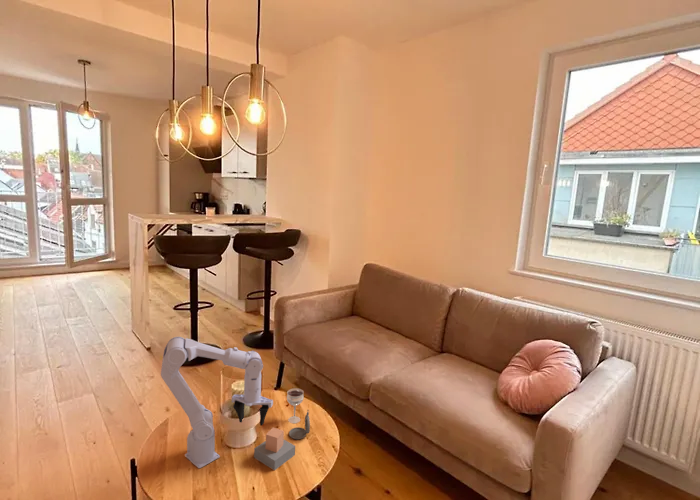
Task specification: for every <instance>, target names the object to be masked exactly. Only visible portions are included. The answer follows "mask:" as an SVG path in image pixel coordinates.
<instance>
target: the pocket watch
mask: <svg viewBox="0 0 700 500" xmlns="http://www.w3.org/2000/svg"><path fill="white" fill-rule="evenodd" d="M309 414H310V412H309V409H307V411H306V415H305V417H304V428H303V427H293V428H292V429H290V430H289V433H288V435H289V437H290V438H292V439H293V440H300V439H304V438H305V437H306V436H307V434H309V433H310V430H311V425H310V424H311V423H310V422H311V421H310V416H309Z"/></svg>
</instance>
